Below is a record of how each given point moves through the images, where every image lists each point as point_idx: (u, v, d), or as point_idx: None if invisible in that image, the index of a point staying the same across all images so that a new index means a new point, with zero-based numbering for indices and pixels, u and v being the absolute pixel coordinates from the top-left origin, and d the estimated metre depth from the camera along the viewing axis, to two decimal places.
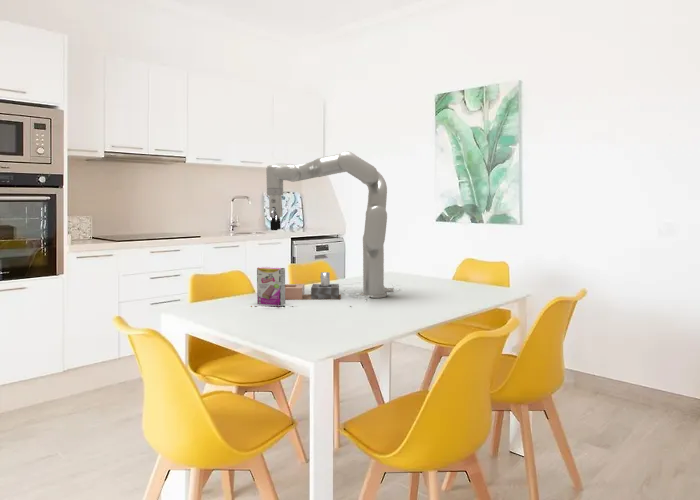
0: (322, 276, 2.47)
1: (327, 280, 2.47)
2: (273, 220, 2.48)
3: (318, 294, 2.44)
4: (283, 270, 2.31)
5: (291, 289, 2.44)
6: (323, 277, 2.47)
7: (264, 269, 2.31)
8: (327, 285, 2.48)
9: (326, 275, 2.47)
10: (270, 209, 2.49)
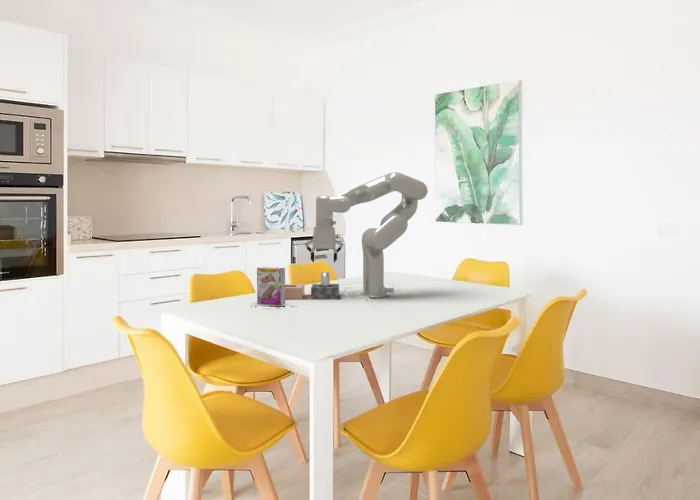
0: (322, 276, 2.47)
1: (327, 280, 2.47)
2: (337, 252, 2.48)
3: (318, 294, 2.44)
4: (283, 270, 2.31)
5: (291, 289, 2.44)
6: (323, 277, 2.47)
7: (264, 269, 2.31)
8: (327, 285, 2.48)
9: (326, 275, 2.47)
10: (334, 241, 2.46)
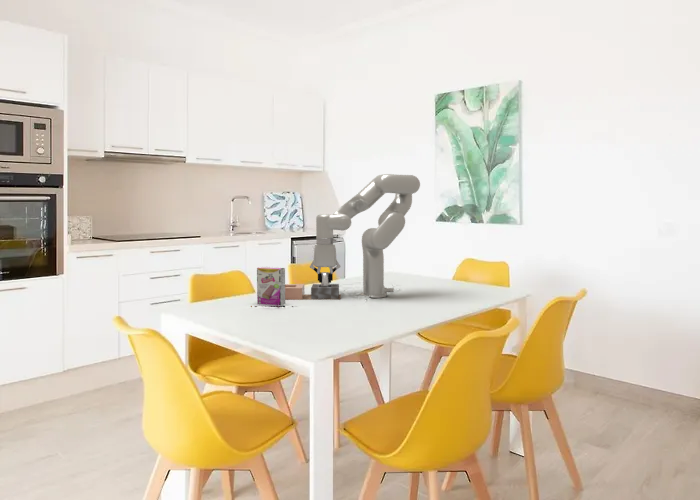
0: (322, 276, 2.47)
1: (327, 280, 2.47)
2: None
3: (318, 294, 2.44)
4: (282, 270, 2.31)
5: (291, 289, 2.44)
6: (323, 277, 2.47)
7: (264, 269, 2.31)
8: (327, 285, 2.48)
9: (326, 275, 2.47)
10: (335, 259, 2.47)
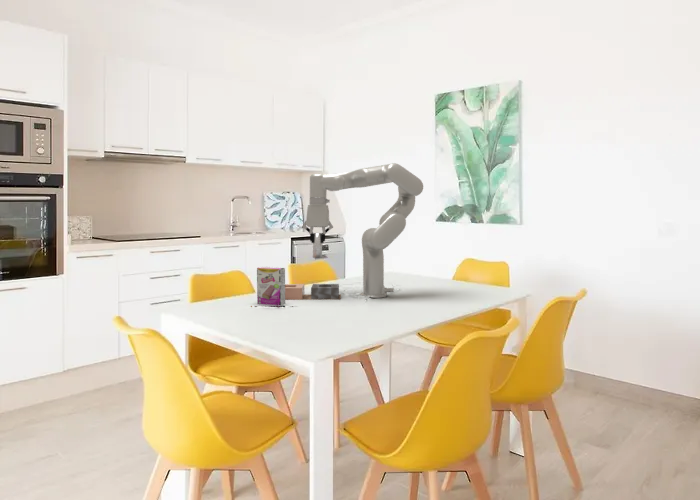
0: (314, 236, 2.46)
1: (319, 240, 2.46)
2: (325, 233, 2.47)
3: (318, 294, 2.44)
4: (282, 270, 2.31)
5: (291, 289, 2.44)
6: (315, 237, 2.46)
7: (264, 269, 2.31)
8: (319, 245, 2.46)
9: (318, 235, 2.45)
10: (328, 219, 2.45)
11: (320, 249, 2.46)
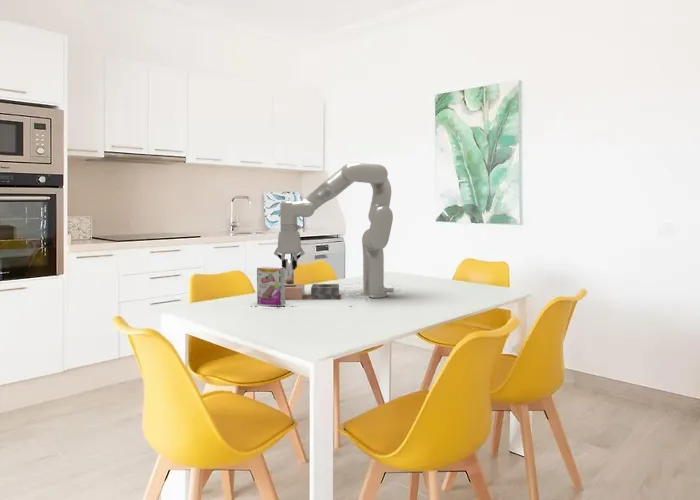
0: (286, 263, 2.47)
1: (291, 267, 2.47)
2: None
3: (318, 294, 2.44)
4: (283, 270, 2.31)
5: (291, 289, 2.44)
6: (287, 264, 2.47)
7: (264, 269, 2.31)
8: (291, 272, 2.47)
9: (290, 262, 2.47)
10: (299, 246, 2.46)
11: (292, 275, 2.48)
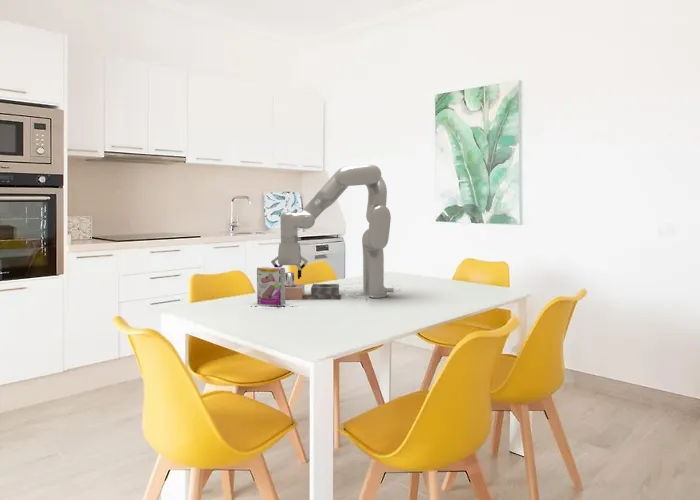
0: (286, 276, 2.47)
1: (291, 280, 2.48)
2: (301, 269, 2.49)
3: (318, 294, 2.44)
4: (283, 270, 2.31)
5: (291, 289, 2.44)
6: (287, 277, 2.47)
7: (264, 269, 2.31)
8: (291, 285, 2.48)
9: (290, 275, 2.47)
10: (299, 257, 2.47)
11: None
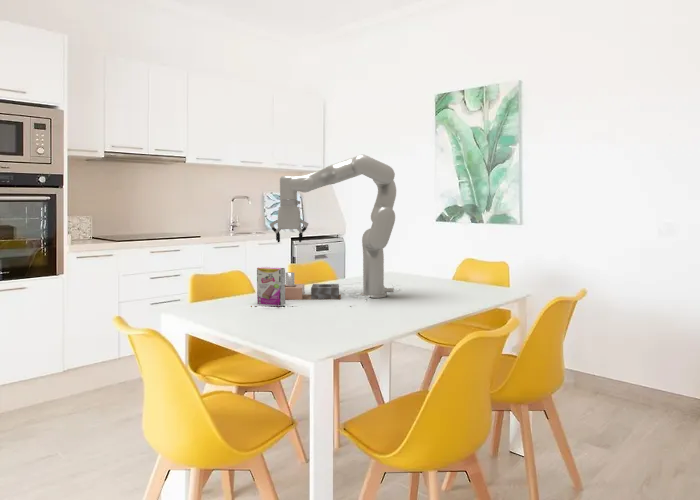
0: (287, 276, 2.48)
1: (292, 280, 2.48)
2: None
3: (318, 294, 2.44)
4: (282, 270, 2.31)
5: (291, 289, 2.44)
6: (288, 277, 2.47)
7: (264, 269, 2.31)
8: (292, 285, 2.48)
9: (291, 275, 2.47)
10: (299, 221, 2.45)
11: None
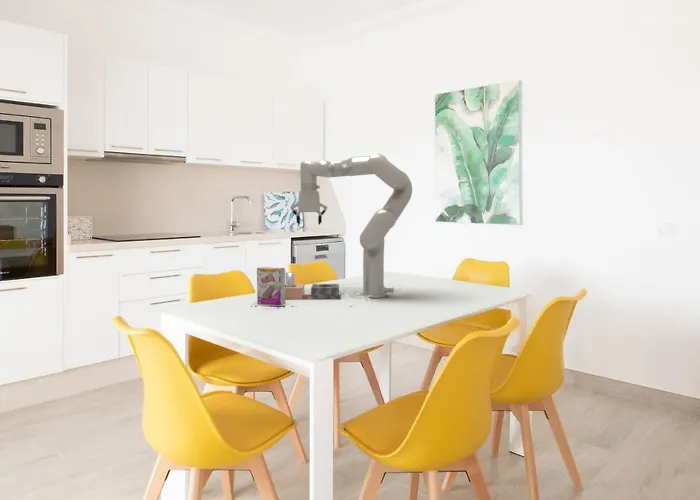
0: (287, 276, 2.47)
1: (292, 280, 2.48)
2: None
3: (318, 294, 2.44)
4: (283, 270, 2.31)
5: (291, 289, 2.44)
6: (288, 277, 2.47)
7: (264, 269, 2.31)
8: (292, 285, 2.48)
9: (291, 275, 2.47)
10: (319, 204, 2.58)
11: None
